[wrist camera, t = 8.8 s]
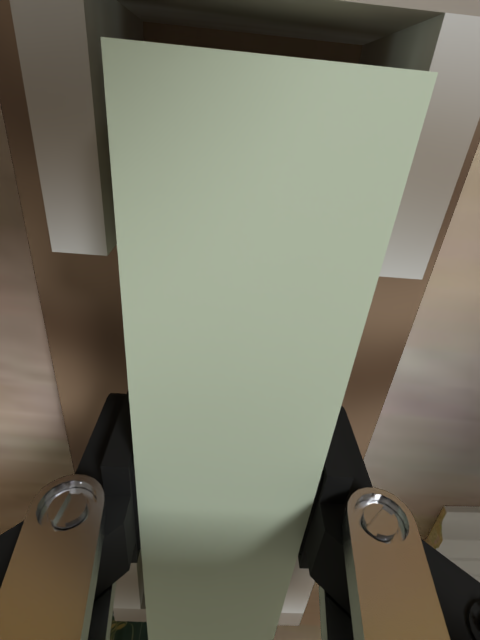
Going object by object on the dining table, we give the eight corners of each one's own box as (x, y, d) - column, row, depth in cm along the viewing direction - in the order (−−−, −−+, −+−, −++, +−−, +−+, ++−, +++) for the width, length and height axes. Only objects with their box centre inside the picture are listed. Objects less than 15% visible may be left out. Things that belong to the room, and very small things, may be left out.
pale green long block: (167, 66, 8) (100, 36, 4) (338, 84, 8) (437, 71, 4) (171, 530, 16) (150, 672, 12) (256, 533, 16) (263, 674, 12)
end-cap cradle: (1, -66, 9) (-267, -250, 4) (497, -7, 10) (759, -108, 5) (94, 494, 19) (49, 625, 14) (329, 504, 20) (359, 632, 15)
